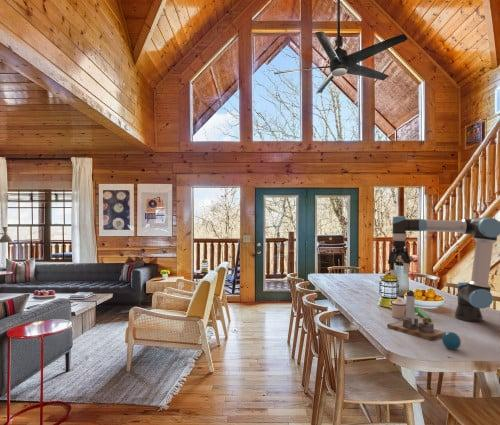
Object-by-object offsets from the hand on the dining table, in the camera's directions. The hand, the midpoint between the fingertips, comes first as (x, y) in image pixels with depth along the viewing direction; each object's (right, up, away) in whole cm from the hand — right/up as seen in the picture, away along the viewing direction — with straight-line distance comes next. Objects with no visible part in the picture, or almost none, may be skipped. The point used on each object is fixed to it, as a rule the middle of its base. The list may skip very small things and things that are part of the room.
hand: (399, 274), depth 215 cm
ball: (+3, -27, -51) cm, 58 cm away
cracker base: (-2, -28, -24) cm, 37 cm away
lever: (-3, -23, -22) cm, 32 cm away
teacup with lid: (+3, -29, +7) cm, 30 cm away
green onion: (+18, -29, +10) cm, 36 cm away
